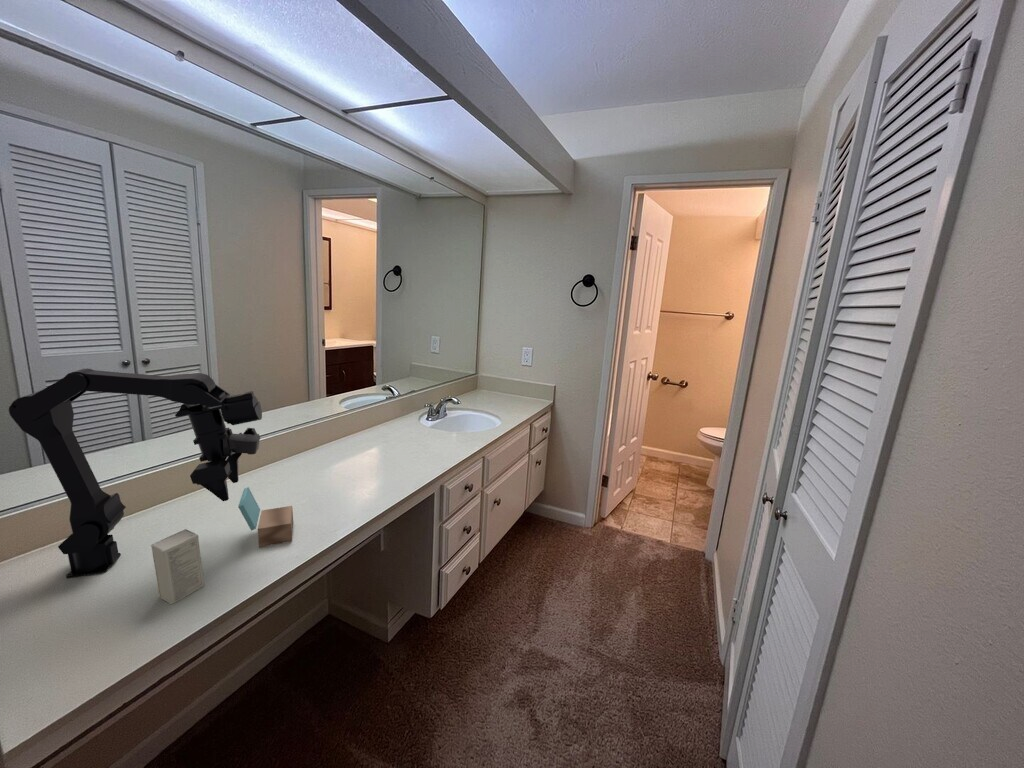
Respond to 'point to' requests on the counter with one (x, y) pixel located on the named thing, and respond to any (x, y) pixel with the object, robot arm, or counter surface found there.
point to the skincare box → (178, 565)
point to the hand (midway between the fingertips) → (231, 491)
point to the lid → (249, 508)
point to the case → (275, 526)
